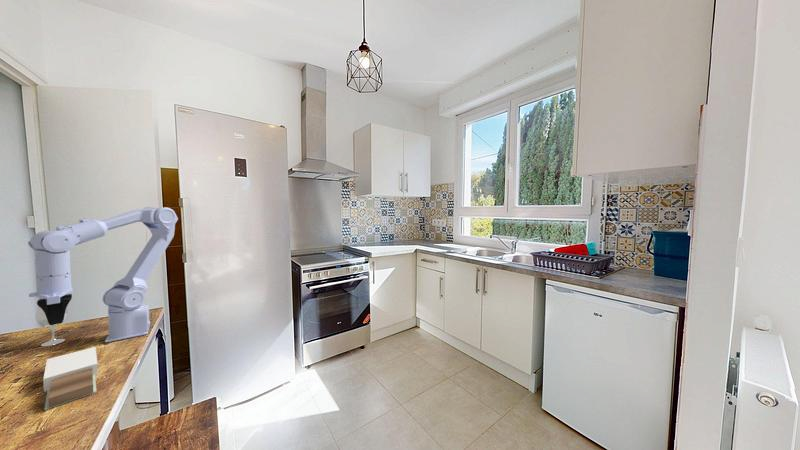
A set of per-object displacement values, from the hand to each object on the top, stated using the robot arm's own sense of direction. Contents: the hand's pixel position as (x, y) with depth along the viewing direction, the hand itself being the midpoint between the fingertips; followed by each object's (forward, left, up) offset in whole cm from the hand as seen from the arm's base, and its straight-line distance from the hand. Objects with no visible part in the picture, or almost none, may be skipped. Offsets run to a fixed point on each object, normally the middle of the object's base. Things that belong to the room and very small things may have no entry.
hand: (56, 323), depth 71 cm
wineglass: (+4, -14, -10) cm, 18 cm away
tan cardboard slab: (-7, +23, -10) cm, 25 cm away
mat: (-7, +22, -10) cm, 25 cm away
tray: (-5, +12, -10) cm, 16 cm away
